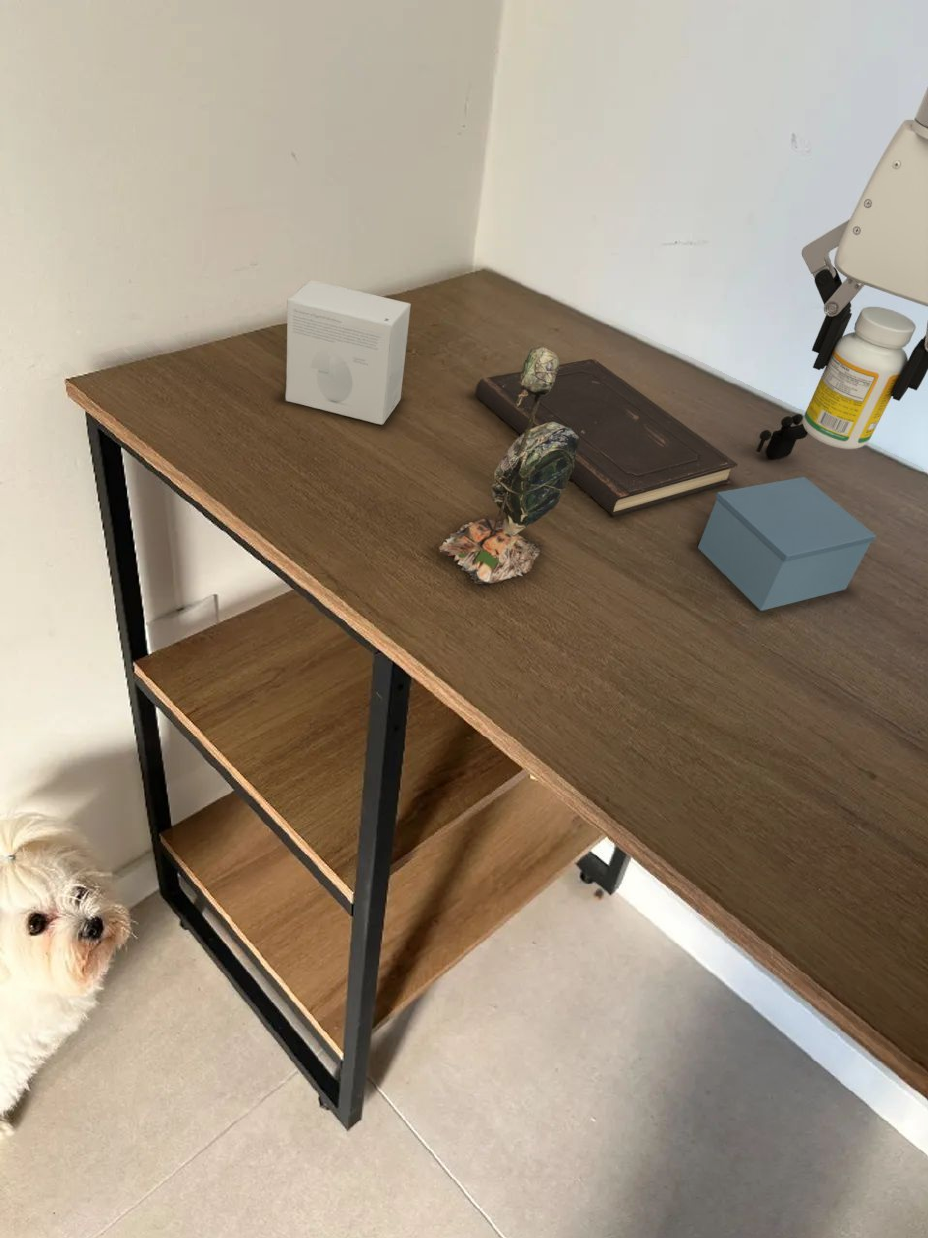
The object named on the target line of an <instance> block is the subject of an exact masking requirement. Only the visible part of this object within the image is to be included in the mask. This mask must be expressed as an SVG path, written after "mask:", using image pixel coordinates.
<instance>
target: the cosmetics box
mask: <svg viewBox="0 0 928 1238" xmlns="http://www.w3.org/2000/svg"><path fill="white" fill-rule="evenodd" d="M411 305H412V304H411V303H410V302H407V301H401V300H396V299H394V298H393V299H392V298H388V297H384V296H380V295H376V294H372V293H368V292H363V291H359V290H355V289H352V288H351V289H350V288H348V287H344V286H338V285H335V284H330V283H327V282H322V281H318V280H315V279H310V280H308V281H307V282H306V283H305V284H304V285H303V286H301V287H300V288H299V289H298V290H297V291H295V292H294V293H293V294H292V295H291V296H290V297H288V298H287V300H286V309H287V310H286V313H287V315H286V316H287V318H286V320H287V323H286V325H287V329H286V334H287V335H286V379H285V380H286V382H285V383H286V385H285V394H284V395H285V396H284V398H285V401H286V402H289V403H293V404H298V405H302V406H305V407H310V408H313V409H318V410H320V411H325V412H329V413H333V414H337V415H341V416H346V417H349V418H353V419H357V420H361V421H364V422H369V423H373V424H376V425H381V426H382V425H384V424H385V423H386V421H387V420H388V418H389V417H390V416H391V414H392V413H393V411H394V410H395V408H396V407H397V405H398V404H399V403H400V401H401V399H402V389H403V379H404V372H405V371H404V370H405V362H406V353H407V352H406V351H407V343H408V333H409V325H410V324H409V323H410V315H411V307H412V306H411Z"/></svg>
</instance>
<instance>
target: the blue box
mask: <svg viewBox="0 0 928 1238" xmlns="http://www.w3.org/2000/svg"><path fill="white" fill-rule="evenodd" d="M715 499H716V500H715V503H714V504H713V507H712V510H711V512H710V515H709V518H708V520H707V523H706V525H705V527H704V531H703V533H702V535H701V539H700V541H699V544H698V547H697V549H698V550H699V551H700V552H701V553H702V554H703V556H705V557H706V558H707V559H708V560H709V561H710V562H711V563H712V564H713V565H714V566H715V567H716V568H717V569H718V570H719V571H720V572H721V574H723V575H724V576H725V577H726V578H727V580H729V581H730V582H731V583H732V584H733V585H734V586H735V587H736V588H737V589H738V590H739V591H740V592H741V593H742V594H743V595H744V596H745V597H746V598H747V599H748V601H750V602H751V603H752V604H753V605H754V606H755V607H756V608H757V610H758V611H760V612H764V611H767V610H772V609H775V608H779V607H782V606H787V605H791V604H795V603H798V602H802V601H807V600H810V599H815V598H818V597H822V596H826V595H830V594H835V593H837V592H841V591H845V590H847V588H848V586H849V584H850V582H851V580H852V579H853V577H854V575H855V573H856V571H857V569H858V567H859V566H860V564H861V561H862V560H863V559H864V556H865V554H866V553H867V551H868V549H869V547H870V545H871V544H872V542H873V543H874V542H875V540H876V538H877V535H876V534H875V533H874V532H872V531H871V530H870V529H869V528H867V526H865V525H864V524H863V523H862V522H861V521H859V520H858V519H857V518H855V517H854V516H853V515H852V514H850V512H848V511H847V510H846V509H844V508H843V507H842V506H841V505H840V504H839V503H837V502H836V501H835V500H833V498H831V497H830V496H829V495H827V494H826V493H825V492H824V491H823V490H822V489H820V488H819V487H818V486H816V484H814V483H813V482H811V481H810V480H809V479H808V478H806V477H805V476H800V477H796V478H789V479H783V480H778V481H773V482H768V483H761V484H756V485H750V486H745V487H740V488H733V489H729V490H723V491H718V492H716V495H715Z"/></svg>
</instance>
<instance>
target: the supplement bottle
mask: <svg viewBox="0 0 928 1238" xmlns="http://www.w3.org/2000/svg"><path fill="white" fill-rule="evenodd" d="M916 328H917V326H916V324H915V322H914V321H913V320H912V319H910V318H909V317H908V316H906V315H905V314H903V313H900V312H898V311H895V310H892V309H890V308H885V307H880V306H866V307H863V308H862V309H861V310H860V312H859V315H858V316H857V319H856V321H855V323H854V327H853V330H854V331H853V332H849V333H846V334H843V336H842V337H841V338H840V339H839V340H838V342H837V343H836V345H835V347H834V349H833V352H832V354H831V356H830V358H829V361H828V363H827V365H826V366H825V368H824V369H823V372H822V374H821V377H820V379H819V381H818V383H817V386H816V388H815V389H814V393H813V394H812V397H811V398H810V399H811V400H810V401H809V403H808V406H807V408H806V410H805V412H804V415H803V419H802V424H803V426H804V428H805V430H806V431H807V432H808V435H810V436H811V437H812V438H813V439H815V440H817V441H819V443H822V444H825V445H827V446H830V447H833V448H836V449H842V450H857V449H861V448H863V447H864V446H866V445H867V444H868V443H869V441H870V440H871V438H872V436H873V434H874V432H875V430H876V428H877V426H878V424H879V423H880V421H881V418H882V417H883V415H884V412H885V411H886V409H887V407H888V404H889V403H890V401H891V399H892V398H893V396H891V394H892V392H893V390H894V388H895V386H896V384H897V382H898V380H899V378H900V376H901V374H902V372H903V370H904V368H905V366H906V364H907V362H908V359H909V357H908V355H907V353H906V351H905V349H904V348H905V347H906V346H907V345H909V343H910V342H911V339H912V337H913V335H914V333H915V331H916Z"/></svg>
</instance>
